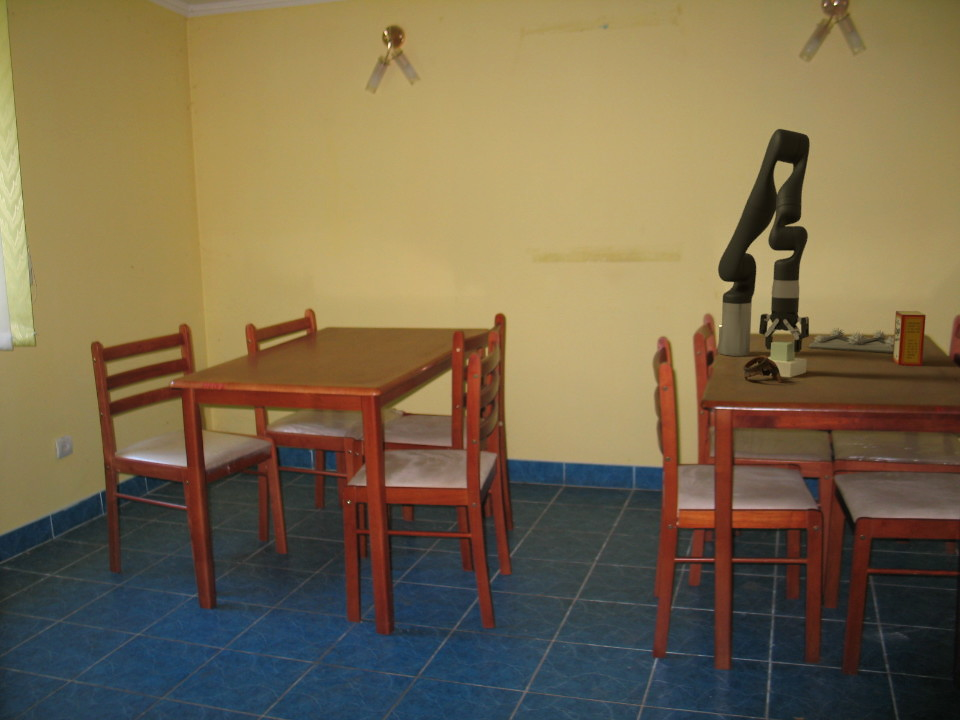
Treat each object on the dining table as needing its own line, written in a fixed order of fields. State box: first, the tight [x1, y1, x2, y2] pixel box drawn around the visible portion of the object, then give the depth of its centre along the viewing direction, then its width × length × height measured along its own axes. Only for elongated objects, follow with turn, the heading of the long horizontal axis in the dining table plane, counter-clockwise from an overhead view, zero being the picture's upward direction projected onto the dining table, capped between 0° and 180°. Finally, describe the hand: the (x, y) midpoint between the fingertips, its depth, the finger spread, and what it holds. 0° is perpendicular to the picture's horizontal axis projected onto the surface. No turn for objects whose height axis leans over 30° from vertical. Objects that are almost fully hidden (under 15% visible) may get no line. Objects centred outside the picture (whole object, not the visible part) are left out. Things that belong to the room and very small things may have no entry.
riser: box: [767, 356, 807, 378], centre depth 263 cm, size 10×10×4 cm
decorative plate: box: [807, 327, 894, 354], centre depth 308 cm, size 30×22×7 cm
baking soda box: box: [892, 310, 927, 367], centre depth 275 cm, size 10×6×16 cm
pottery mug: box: [742, 354, 782, 384], centre depth 253 cm, size 12×10×8 cm
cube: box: [770, 340, 796, 361], centre depth 262 cm, size 5×5×5 cm
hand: (782, 350), depth 262 cm, fingers open, 8 cm apart
